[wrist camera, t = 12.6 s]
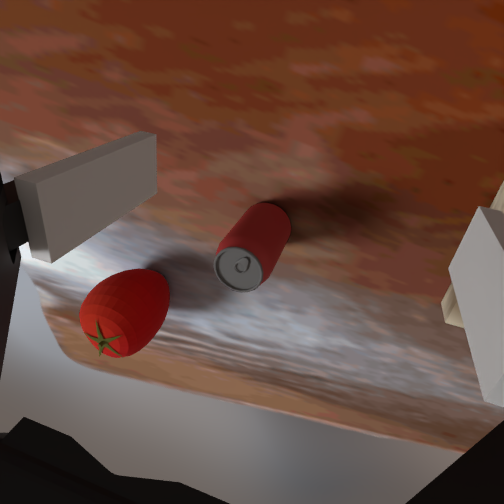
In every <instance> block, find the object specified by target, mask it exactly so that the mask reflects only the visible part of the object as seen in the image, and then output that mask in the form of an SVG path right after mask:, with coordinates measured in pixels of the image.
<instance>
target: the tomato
mask: <svg viewBox="0 0 504 504" xmlns="http://www.w3.org/2000/svg"><path fill="white" fill-rule="evenodd" d="M169 300H170V291H169V285H168V283H167V281H166V279H165V278H164V276H162V275H161V274H160V273H158V272H156V271H152V270H147V269H132V270H126V271H123V272H120V273H117V274H114V275H112V276H110V277H108V278H106V279H105V280H103V281H102V282H100V283H98V284H97V285H96V286H95V287H94V288H93V289H92V290H91V291H90V293H89V294H88V295H87V297H86V298H85V300H84V302H83V303H82V305H81V309H80V313H79V317H80V323H81V326H82V329H83V331H84V333H85V335H86V336H87V338H88V339H89V340H90V342H91V343H92V344H93V345H94V346H95V347H96V348H97V349H98V350H99V357H100V355H101V352H102V353H104V354H106V355H108V356H111V357H115V358H120V357H126V356H130V355H132V354H134V353H136V352H138V351H139V350H141V349H142V348H143V347H144V346H146V345H147V344H148V343H149V342H150V341H151V339H152V338H153V337H154V336H155V335H156V333H157V332H158V330H159V329H160V328H161V326H162V324H163V322H164V320H165V317H166V315H167V311H168V308H169Z"/></svg>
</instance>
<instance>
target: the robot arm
mask: <svg viewBox="0 0 504 504" xmlns="http://www.w3.org/2000/svg"><path fill="white" fill-rule="evenodd" d="M155 194H157V160H156V134H152V133H147V132H143V131H139V132H136V133H134V134H131V135H128V136H125V137H123V138H120V139H117V140H115V141H112V142H109V143H106V144H104V145H101V146H98V147H96V148H93V149H90V150H87V151H85V152H82V153H79V154H77V155H74V156H71V157H69V158H66V159H63V160H60V161H58V162H55V163H52V164H50V165H47V166H44V167H41V168H39V169H36V170H33V171H31V172H28V173H25V174H22V175H20V176H17V177H14V180H13V181H10V182H8V183H5V184H3V181H2V177H1V173H0V377H1V372H2V366H3V360H4V354H5V348H6V343H7V337H8V331H9V325H10V319H11V313H12V308H13V302H14V296H15V290H16V284H17V278H18V273H19V267H20V261H21V254H20V250H19V246H21V245H23V244H24V243H26V242H29V247H30V251H31V255H32V257H33V258H36V259H39V260H42V261H45V262H48V263H53V262H55V261H56V260H58V259H59V258H61V257H62V256H64V255H65V254H67V253H68V252H70V251H71V250H73V249H74V248H76V247H77V246H79V245H80V244H82V243H83V242H85V241H86V240H88V239H89V238H91V237H92V236H94V235H95V234H97V233H98V232H100V231H101V230H103V229H104V228H106V227H107V226H109V225H110V224H112V223H113V222H115V221H116V220H118V219H119V218H121V217H122V216H124V215H125V214H127V213H128V212H130V211H131V210H133V209H134V208H136V207H137V206H139V205H140V204H142V203H143V202H145V201H146V200H148V199H149V198H151V197H152V196H154V195H155ZM449 272H450V276H451V280H452V283H453V287H454V291H455V294H456V298H457V302H458V306H459V309H460V313H461V317H462V320H463V324H464V328H465V332H466V335H467V339H468V343H469V346H470V350H471V354H472V358H473V361H474V365H475V369H476V372H477V376H478V380H479V384H480V387H481V391H482V395H483V398H484V401H485V402H489V403H492V404H495V405H498V406H501V407H504V214H503V212H502V211H499V210H494V209H490V208H485V207H481V206H479V207H478V209H477V211H476V213H475V215H474V217H473V219H472V221H471V223H470V225H469V227H468V229H467V231H466V233H465V235H464V237H463V239H462V242H461V244H460V246H459V248H458V250H457V252H456V254H455V256H454V258H453V260H452V262H451V264H450V266H449ZM0 504H229V503H227V502H225V501H222V500H220V499H217V498H215V497H213V496H210V495H208V494H206V493H203V492H201V491H199V490H196V489H194V488H191V487H189V486H187V485H184V484H182V483H179V482H171V481H163V480H154V479H145V478H136V477H127V476H119V475H115V474H113V473H111V472H110V471H109V470H107V469H106V468H105V467H104V466H103V465H102V464H101V463H100V462H99V461H97V460H96V459H95V458H94V457H93V456H92V455H91V454H89V452H87V451H86V450H85V449H84V448H83V447H82V446H81V445H80V444H78V442H76V441H75V440H74V439H73V438H72V437H70V436H68V435H66V434H64V433H61V432H59V431H56V430H54V429H52V428H49V427H47V426H44V425H42V424H40V423H38V422H35V421H33V420H30V419H28V418H26V417H23V418H22V419H21V420H20V422H18V424H17V425H16V426H15V427H14V428H13V429H12V430H11V431H10V432H9V433H0ZM406 504H504V420H503V421H502V422H501V423H500V424H499V425H498V426H496V427H495V428H494V429H493V430H492V431H491V432H489V433H488V434H487V435H486V436H485V437H483V438H482V439H481V440H480V441H479V442H478V443H476V444H475V445H474V446H473V447H472V448H471V449H469V450H468V451H467V452H466V453H465V454H463V455H462V456H461V457H460V458H459V459H458V460H456V461H455V462H454V463H453V464H452V465H451V466H449V467H448V468H447V469H446V470H445V471H443V472H442V473H441V474H440V475H439V476H438V477H436V478H435V479H434V480H433V481H432V482H430V483H429V484H428V485H427V486H426V487H425V488H423V489H422V490H421V491H420V492H419V493H418V494H416V495H415V496H414V497H413V498H412V499H410V500H409V501H408V502H407V503H406Z"/></svg>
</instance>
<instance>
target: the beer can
mask: <svg viewBox="0 0 504 504" xmlns="http://www.w3.org/2000/svg"><path fill="white" fill-rule="evenodd" d="M290 233H291V224H290V220H289V218H288V216H287V214H286V213H285V212H284V211H283V210H282V209H281V208H280V207H278V206H276V205H274V204H270V203H257V204H255V205H253V206H251V207H250V208H249V209H248V210H247V211H246V212H245V213H244V215H243V216H242V217H241V218H240V220H239V221H238V222H237V223H236V224H235V226H234V227H233V228H232V229H231V230H230V232H229V233H228V234H227V235H226V237H225V238H224V239H223V240H222V241H221V243H220V244H219V247H218V249H217V252H216V257H215V260H214V271H215V274H216V276H217V277H218V279H219V281H220V282H221V283H222V284H224V285H225V286H226V287H228V288H229V289H231V290H233V291H237V292H250V291H252V290H255V289H256V288H257V287H258V286H259V285H261V284H262V283H263V282H264V281H266V280H267V279H268V278H269V276H270V274H271V272H272V271H273V269H274V267H275V265H276V263H277V261H278V259H279V257H280V255H281V253H282V251H283V249H284V247H285V244H286V242H287V240H288V238H289V236H290Z"/></svg>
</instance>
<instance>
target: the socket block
mask: <svg viewBox="0 0 504 504" xmlns="http://www.w3.org/2000/svg"><path fill="white" fill-rule="evenodd" d="M490 209H494V210H499V211H502V212H503V214H504V181H503V183H502V185H501V187H500V189H499V191H498V193H497V195H496V197H495V199H494V201H493V203H492V205H491V207H490ZM441 304H442V309H443V314H444V319H445V323H448V324H452V325H455V326H459V327H462V328H464V324H463V320H462V317H461V313H460V309H459V306H458V302H457V298H456V294H455V291H454V287H453V283H451V285H450V286H449V288H448V290H447V292H446V294H445V296H444V298H443V300H442V302H441Z"/></svg>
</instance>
